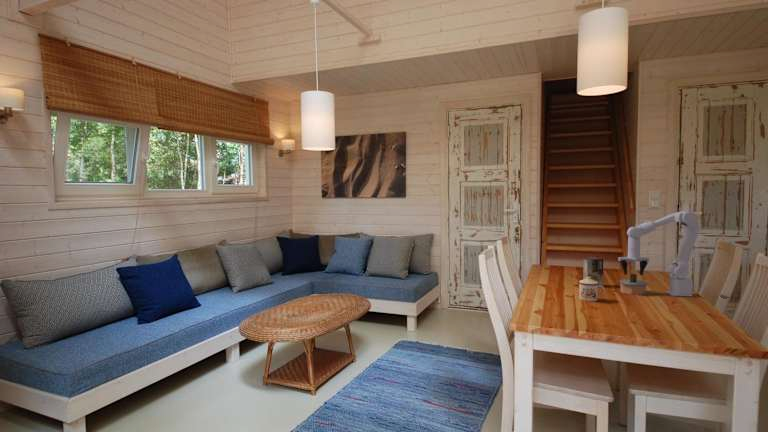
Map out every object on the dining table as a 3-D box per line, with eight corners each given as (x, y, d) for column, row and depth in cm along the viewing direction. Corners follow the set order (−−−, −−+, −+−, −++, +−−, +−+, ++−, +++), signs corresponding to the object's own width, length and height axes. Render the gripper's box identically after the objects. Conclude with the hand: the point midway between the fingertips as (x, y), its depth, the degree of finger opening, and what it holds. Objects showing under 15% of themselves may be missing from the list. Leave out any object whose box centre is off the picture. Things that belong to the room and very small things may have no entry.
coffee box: (598, 284, 254) (599, 257, 253) (603, 287, 247) (603, 259, 246) (582, 284, 255) (583, 257, 254) (586, 287, 248) (587, 259, 247)
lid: (641, 281, 239) (641, 272, 239) (651, 286, 226) (652, 277, 226) (615, 280, 241) (616, 271, 241) (624, 285, 228) (625, 276, 228)
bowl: (640, 290, 239) (640, 281, 238) (647, 295, 228) (648, 285, 228) (618, 289, 241) (618, 280, 241) (624, 294, 230) (625, 285, 230)
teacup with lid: (578, 300, 219) (579, 277, 218) (578, 296, 227) (578, 274, 226) (605, 303, 214) (605, 279, 213) (604, 298, 222) (604, 276, 222)
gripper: (621, 250, 231) (620, 275, 232) (651, 250, 227) (651, 276, 228) (617, 248, 238) (616, 272, 238) (646, 248, 234) (646, 273, 235)
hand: (633, 274), depth 234 cm, fingers open, 7 cm apart
